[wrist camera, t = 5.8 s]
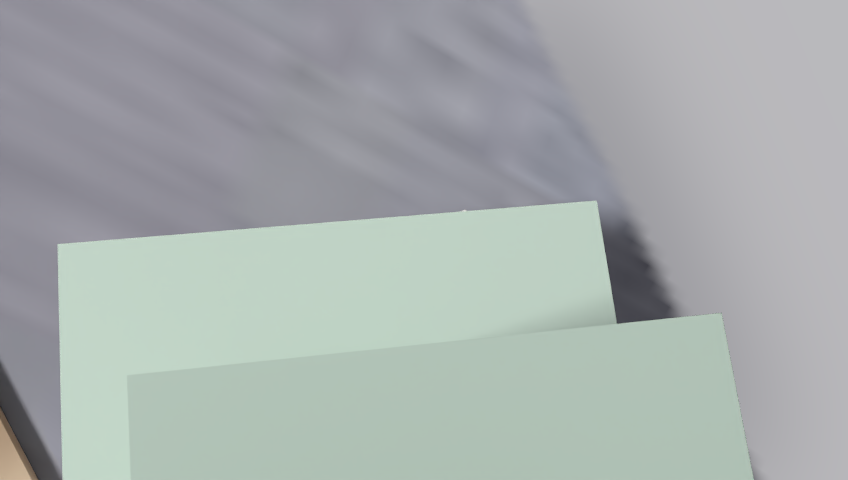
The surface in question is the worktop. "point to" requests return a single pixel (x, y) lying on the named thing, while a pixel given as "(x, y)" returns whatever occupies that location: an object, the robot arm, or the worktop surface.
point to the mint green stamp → (384, 357)
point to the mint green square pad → (12, 455)
